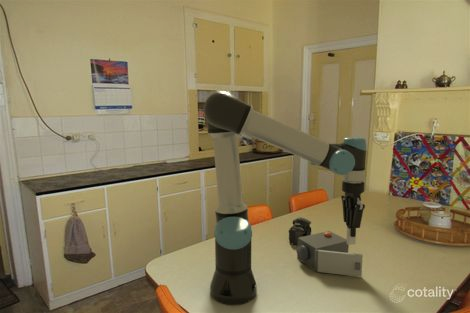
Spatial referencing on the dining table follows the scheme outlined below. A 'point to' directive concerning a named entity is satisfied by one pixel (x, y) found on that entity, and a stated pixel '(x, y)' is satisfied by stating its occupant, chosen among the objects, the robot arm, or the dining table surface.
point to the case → (319, 246)
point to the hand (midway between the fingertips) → (350, 243)
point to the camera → (299, 230)
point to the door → (338, 263)
